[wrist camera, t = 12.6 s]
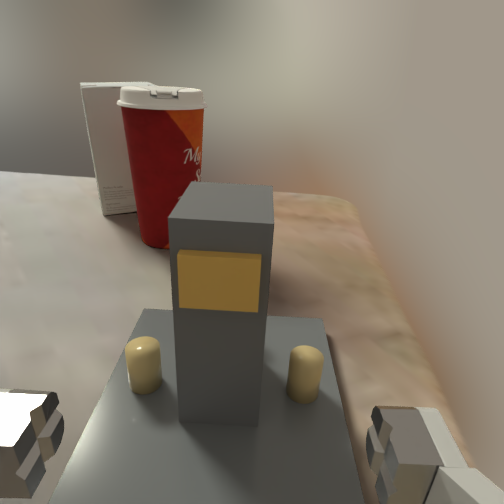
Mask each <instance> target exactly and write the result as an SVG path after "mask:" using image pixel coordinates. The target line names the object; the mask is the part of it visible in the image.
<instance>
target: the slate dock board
mask: <svg viewBox="0 0 504 504" xmlns="http://www.w3.org/2000/svg"><path fill="white" fill-rule="evenodd" d="M48 504H365V502H364V498H363V493H362V489H361V485H360V480H359V476H358V472H357V467H356V463H355V459H354V454H353V450H352V446H351V441H350V437H349V433H348V428H347V424H346V420H345V415H344V411H343V407H342V402H341V398H340V394H339V389H338V385H337V381H336V376H335V372H334V368H333V363H332V359H331V355H330V350H329V346H328V342H327V337H326V333H325V329H324V324H323V320H322V319H320V318H302V317H284V316H267V321H266V333H265V346H264V358H263V371H262V384H261V396H260V409H259V421H258V427H250V426H234V425H219V424H203V423H187V422H179V416H178V398H177V379H176V360H175V341H174V323H173V310H160V309H144V310H143V312H142V314H141V316H140V318H139V320H138V322H137V324H136V326H135V328H134V330H133V332H132V334H131V336H130V338H129V340H128V342H127V344H126V346H125V348H124V350H123V352H122V354H121V356H120V358H119V360H118V362H117V365H116V367H115V369H114V371H113V373H112V375H111V377H110V379H109V381H108V383H107V385H106V387H105V389H104V391H103V393H102V395H101V397H100V399H99V401H98V403H97V405H96V407H95V409H94V411H93V413H92V415H91V417H90V419H89V421H88V423H87V425H86V427H85V429H84V431H83V433H82V435H81V438H80V440H79V442H78V444H77V446H76V448H75V450H74V452H73V454H72V456H71V458H70V460H69V462H68V464H67V466H66V468H65V470H64V472H63V474H62V476H61V478H60V480H59V482H58V484H57V486H56V488H55V490H54V492H53V494H52V496H51V498H50V500H49V502H48Z"/></svg>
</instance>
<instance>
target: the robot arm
mask: <svg viewBox="0 0 504 504" xmlns="http://www.w3.org/2000/svg"><path fill="white" fill-rule="evenodd" d="M58 404H59V400H58V397H57V393H54V392H47V391H33V390H19V389H0V498H30V499H31V498H32V496H33V494H34V492H35V490H36V488H37V487H38V485H39V483H40V481H41V479H42V477H43V476H44V474H45V472H46V470H45V465H44V462H45V461H47V460H48V459H49V458H51V457H52V456H53V455H55V453H56V451H57V449H58V447H59V445H60V443H61V440H62V436H63V432H64V420H63V415H62V414H61V413H60V412H58V411H57V410H56V407H57V405H58ZM371 418H372V421H373V425H372V426H371V427H370V428H368V432H367V437H366V451H367V457H368V462H369V466H370V469H371V470H372V471H373V472H374V473H375V474H376V475H377V476H378V477H377V481H376V485H375V487H376V491H377V495H378V498H379V502H380V504H504V491H503V490H501V489H500V488H499V487H498V486H496V485H495V484H494V483H493V482H492V481H490V480H489V479H488V478H487V477H486V476H484V475H483V474H482V473H481V472H479V471H478V470H477V469H476V468H469V466H468V465H467V463H466V461H465V459H464V457H463V455H462V453H461V451H460V450H459V448H458V446H457V444H456V442H455V440H454V438H453V436H452V435H451V433H450V431H449V429H448V427H447V425H446V423H445V421H444V420H443V418H442V416H441V414H440V412H439V411H438V410H437V409H436V408H423V407H415V408H414V407H399V406H375V407H374V408H373V411H372V415H371Z"/></svg>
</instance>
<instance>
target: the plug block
mask: <svg viewBox="0 0 504 504" xmlns="http://www.w3.org/2000/svg"><path fill="white" fill-rule="evenodd" d="M168 229H169V248H170V266H171V285H172V304H173V323H174V341H175V360H176V379H177V398H178V416H179V422H187V423H203V424H219V425H234V426H250V427H258V421H259V409H260V396H261V384H262V371H263V358H264V346H265V333H266V321H267V308H268V295H269V283H270V270H271V258H272V245H273V232H274V209H273V188H272V186H265V185H264V186H263V185H246V184H230V183H212V182H194V181H191V183H190V184H189V186H188V188H187V189H186V191H185V192H184V194H183V195H182V197H181V198H180V200H179V201H178V203H177V204H176V206H175V208H174V209H173V211H172V212H171V214H170V215H169V217H168Z"/></svg>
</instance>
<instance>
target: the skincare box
mask: <svg viewBox="0 0 504 504" xmlns="http://www.w3.org/2000/svg"><path fill="white" fill-rule="evenodd" d="M124 86H155V85H153V84H151V83H150V82H108V83H105V82H104V83H80V87H81V94H82V100H83V107H84V112H85V119H86V124H87V131H88V137H89V142H90V147H91V153H92V159H93V164H94V170H95V176H96V181H97V187H98V193H99V199H100V204H101V208H102V212H103V215H104V216H105V215H112V214H120V213H128V212H136V211H137V208H136V202H135V196H134V189H133V183H132V176H131V170H130V163H129V157H128V150H127V143H126V137H125V130H124V124H123V117H122V111H121V106H119V105H117V101H118V100H120V90H121V87H124Z"/></svg>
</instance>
